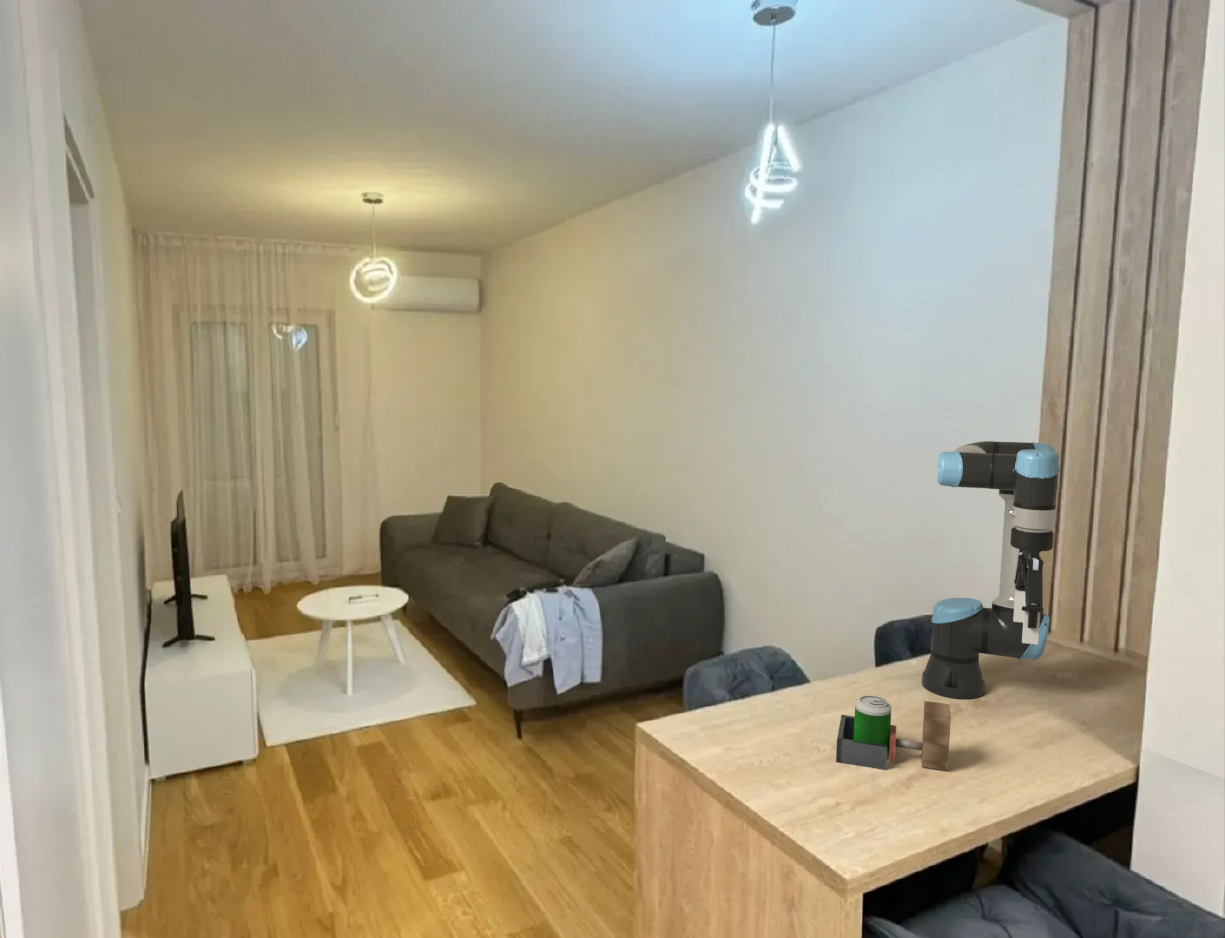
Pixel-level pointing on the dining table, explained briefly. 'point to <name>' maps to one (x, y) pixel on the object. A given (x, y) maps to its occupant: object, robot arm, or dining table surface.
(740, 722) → the dining table surface
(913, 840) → the dining table surface
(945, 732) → the striker
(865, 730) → the soda can
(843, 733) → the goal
